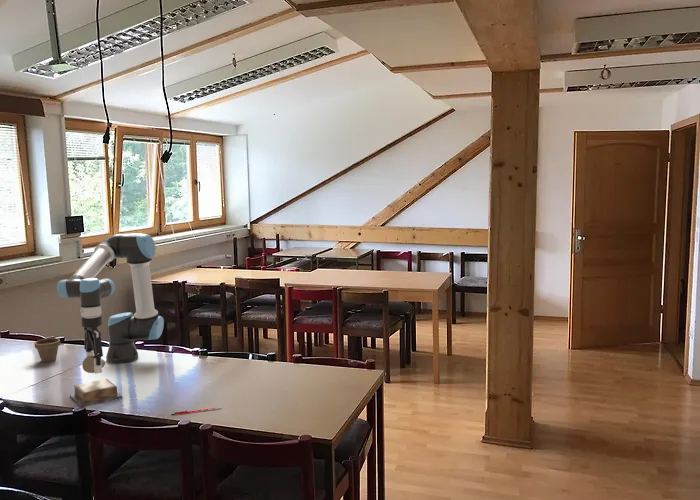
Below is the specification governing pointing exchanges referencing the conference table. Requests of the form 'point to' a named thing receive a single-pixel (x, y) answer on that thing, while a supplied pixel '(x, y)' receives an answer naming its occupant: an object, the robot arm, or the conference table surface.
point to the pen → (188, 411)
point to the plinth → (95, 393)
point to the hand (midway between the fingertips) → (94, 369)
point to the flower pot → (47, 349)
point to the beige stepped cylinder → (90, 364)
